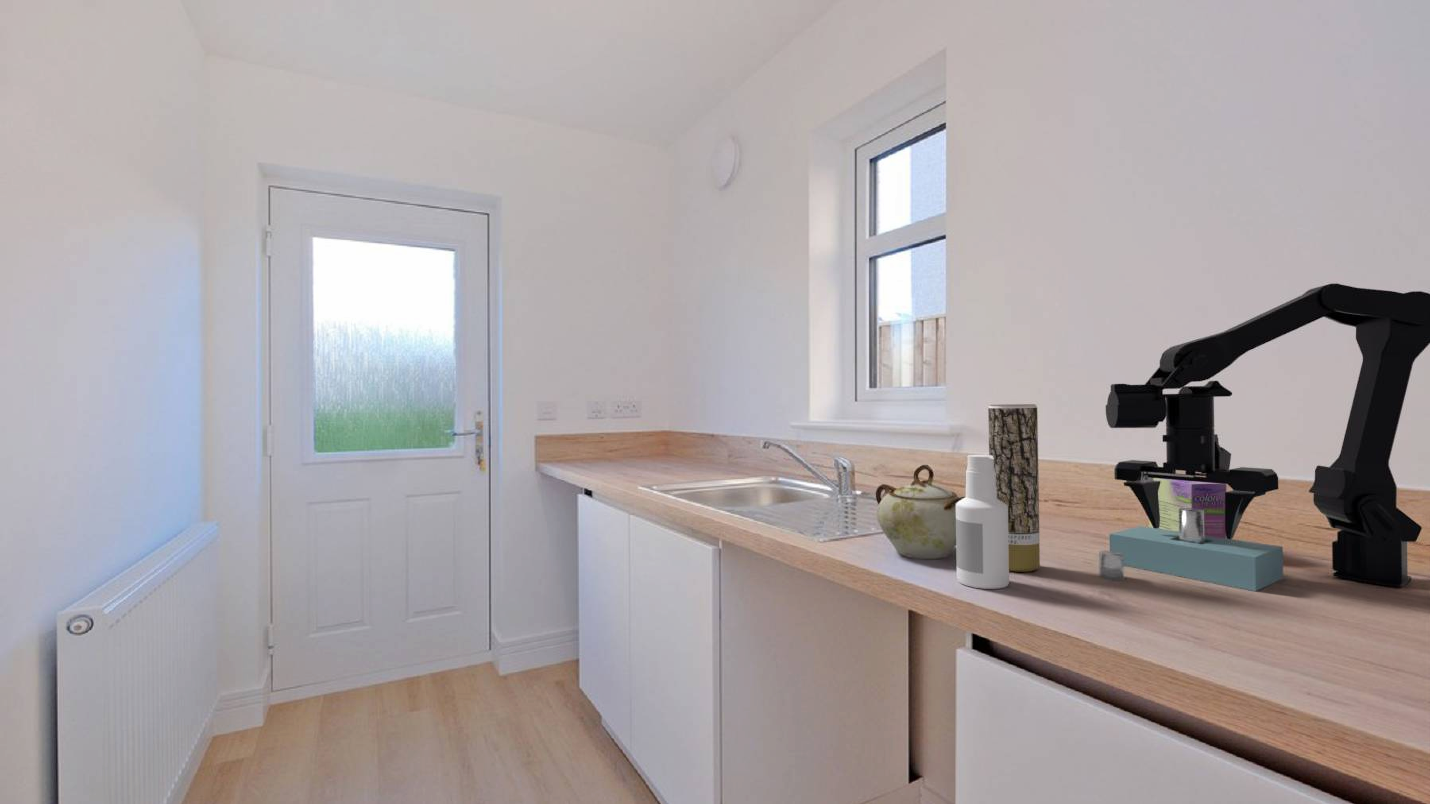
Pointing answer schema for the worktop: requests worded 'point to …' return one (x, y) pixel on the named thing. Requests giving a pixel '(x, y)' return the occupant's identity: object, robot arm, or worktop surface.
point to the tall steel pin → (1191, 525)
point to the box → (1192, 504)
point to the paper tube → (1017, 478)
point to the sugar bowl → (919, 517)
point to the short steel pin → (1111, 565)
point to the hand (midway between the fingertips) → (1191, 533)
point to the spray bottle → (982, 529)
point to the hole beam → (1201, 557)
